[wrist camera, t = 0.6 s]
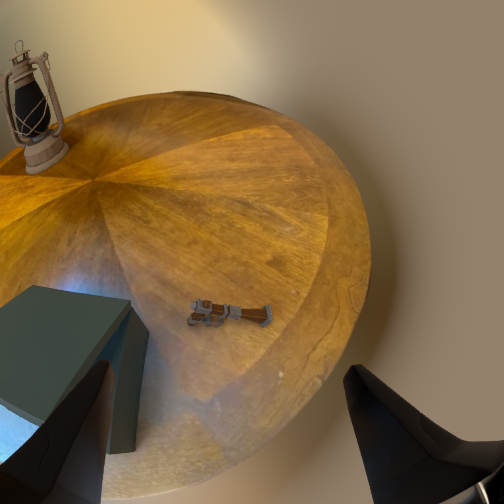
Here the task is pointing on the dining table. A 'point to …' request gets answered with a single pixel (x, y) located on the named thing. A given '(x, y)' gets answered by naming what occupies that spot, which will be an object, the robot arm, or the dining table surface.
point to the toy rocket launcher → (227, 313)
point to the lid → (51, 345)
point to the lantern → (34, 113)
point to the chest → (125, 380)
